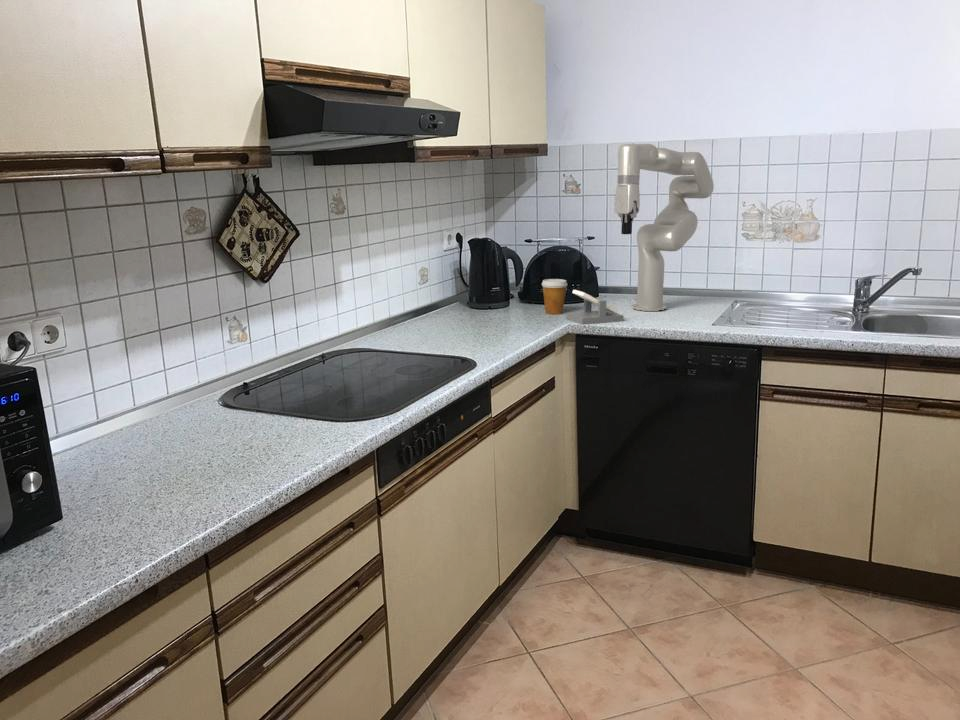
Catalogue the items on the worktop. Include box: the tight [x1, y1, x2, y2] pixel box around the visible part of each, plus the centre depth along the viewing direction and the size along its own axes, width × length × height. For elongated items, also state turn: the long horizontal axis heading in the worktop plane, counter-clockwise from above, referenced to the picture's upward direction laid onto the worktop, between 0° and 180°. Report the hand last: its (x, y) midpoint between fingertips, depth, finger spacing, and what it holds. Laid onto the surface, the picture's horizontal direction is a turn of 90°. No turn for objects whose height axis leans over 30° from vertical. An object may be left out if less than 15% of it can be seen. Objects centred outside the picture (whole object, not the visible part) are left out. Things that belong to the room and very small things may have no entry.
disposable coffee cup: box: [541, 278, 568, 315], centre depth 287 cm, size 10×10×12 cm
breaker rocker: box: [572, 289, 619, 314], centre depth 273 cm, size 8×15×1 cm, turn 111°
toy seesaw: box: [565, 299, 624, 325], centre depth 273 cm, size 12×16×8 cm
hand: (626, 234), depth 276 cm, fingers closed
